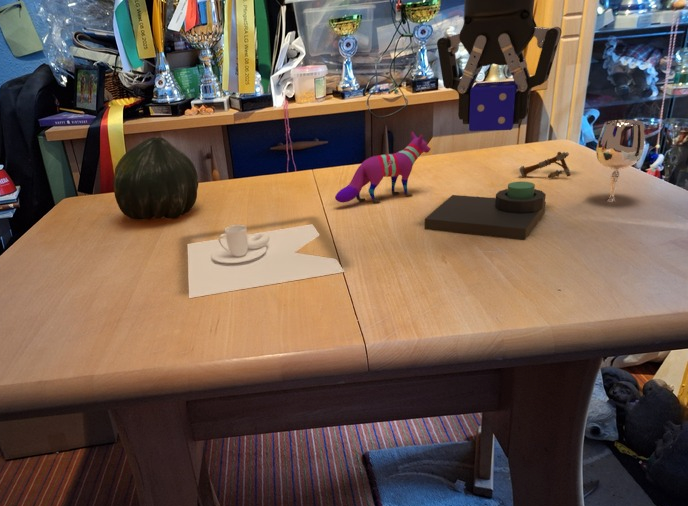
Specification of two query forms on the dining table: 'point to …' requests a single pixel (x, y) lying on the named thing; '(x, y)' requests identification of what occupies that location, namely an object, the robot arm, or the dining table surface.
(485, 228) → the scale
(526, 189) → the tare button
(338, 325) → the dining table surface
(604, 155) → the wineglass
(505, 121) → the die
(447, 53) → the robot arm
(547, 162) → the wooden post with brackets
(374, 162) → the striped fox figurine
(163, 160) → the squash
